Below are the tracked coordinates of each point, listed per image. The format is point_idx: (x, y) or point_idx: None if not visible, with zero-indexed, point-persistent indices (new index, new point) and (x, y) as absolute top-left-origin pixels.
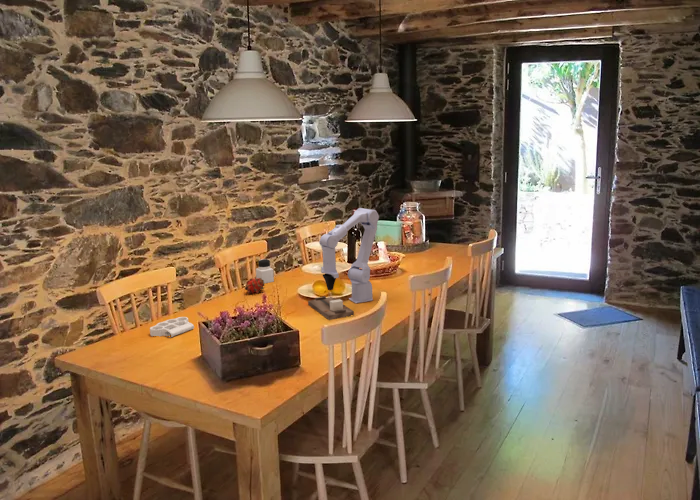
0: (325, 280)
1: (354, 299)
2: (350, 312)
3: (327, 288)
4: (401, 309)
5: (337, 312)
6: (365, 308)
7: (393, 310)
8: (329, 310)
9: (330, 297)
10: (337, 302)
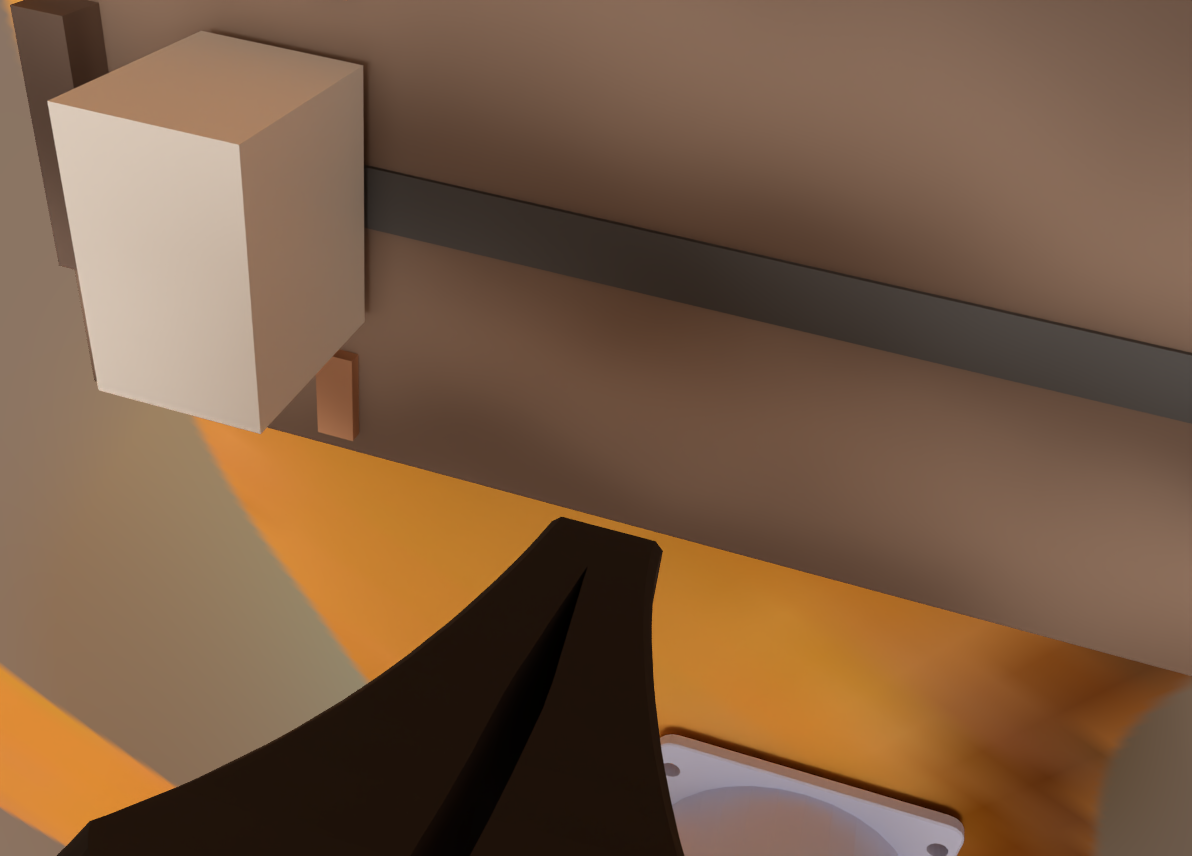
0: (597, 802)
1: (747, 808)
2: None
3: (649, 560)
4: None
5: (36, 48)
6: (376, 660)
7: (133, 779)
8: (345, 28)
9: (1189, 644)
10: (88, 247)
